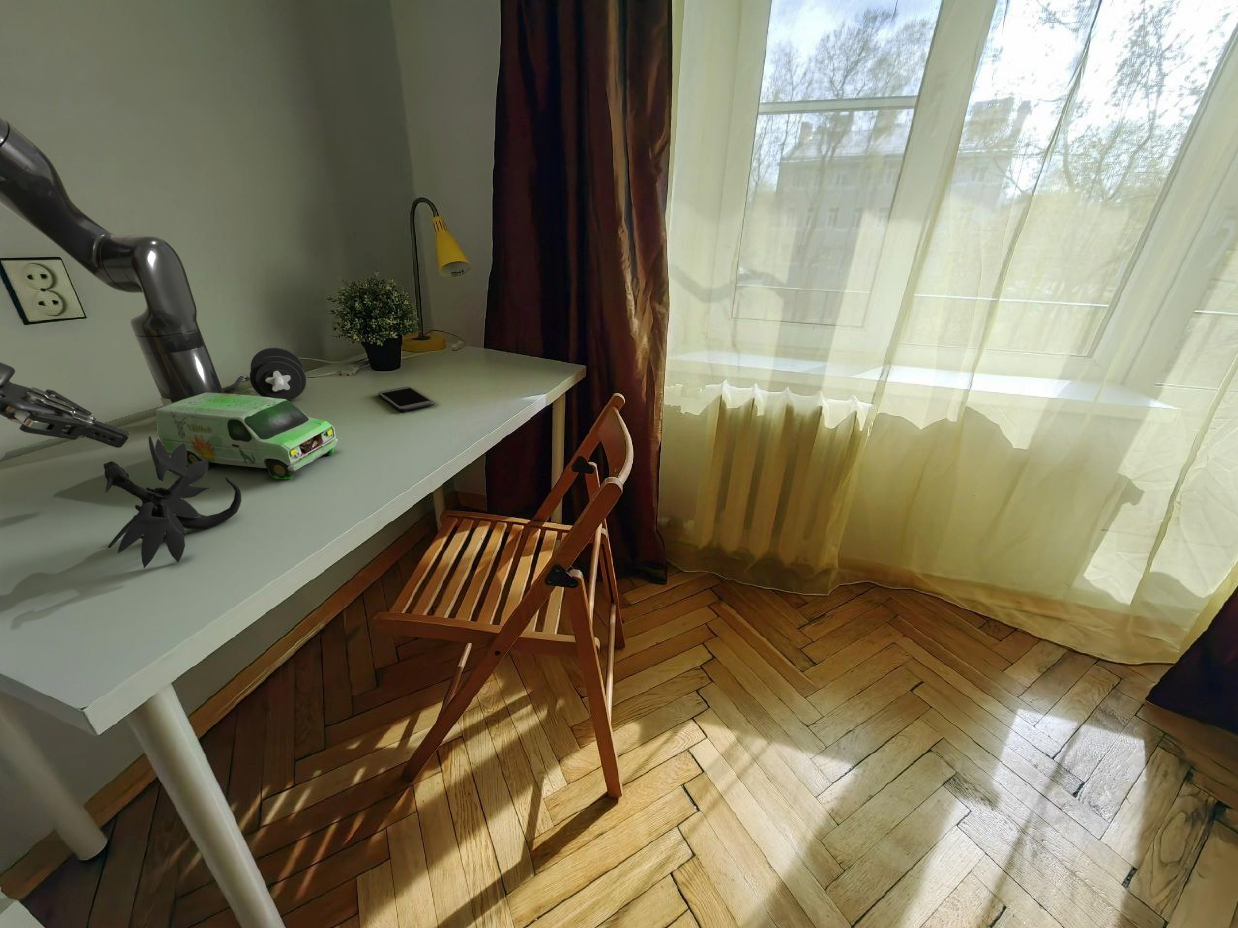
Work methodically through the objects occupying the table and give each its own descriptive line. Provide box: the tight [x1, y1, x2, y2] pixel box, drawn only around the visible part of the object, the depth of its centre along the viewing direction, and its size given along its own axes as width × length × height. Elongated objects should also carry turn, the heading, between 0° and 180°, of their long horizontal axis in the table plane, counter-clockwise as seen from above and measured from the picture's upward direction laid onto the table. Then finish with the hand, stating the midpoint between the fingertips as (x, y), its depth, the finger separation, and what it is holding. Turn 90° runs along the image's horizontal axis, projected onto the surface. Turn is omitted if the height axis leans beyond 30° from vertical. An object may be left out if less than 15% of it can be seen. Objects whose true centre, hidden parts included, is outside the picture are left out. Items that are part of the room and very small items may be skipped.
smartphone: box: [377, 386, 435, 412], centre depth 108 cm, size 7×15×1 cm, turn 42°
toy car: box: [155, 393, 339, 480], centre depth 80 cm, size 11×25×10 cm, turn 78°
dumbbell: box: [249, 347, 307, 402], centre depth 108 cm, size 22×10×10 cm, turn 33°
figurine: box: [103, 435, 242, 569], centre depth 59 cm, size 16×13×11 cm
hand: (125, 440), depth 70 cm, fingers closed
